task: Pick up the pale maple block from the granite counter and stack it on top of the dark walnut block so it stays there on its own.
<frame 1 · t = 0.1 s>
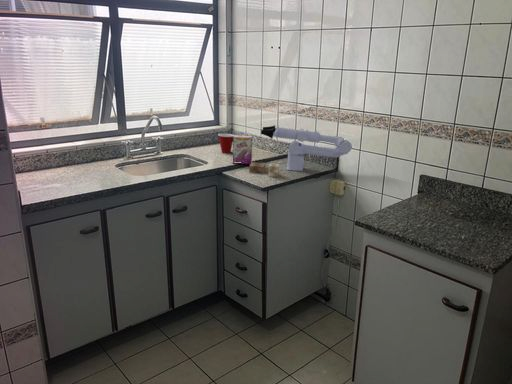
hand: (261, 130, 236), 22 cm above the countertop, tool horizontal, fingers open, 7 cm apart
plastic cup: (226, 152, 273), on the countertop
candy bar box: (242, 163, 250), on the countertop
walnut block: (257, 171, 236), on the countertop
maple block: (273, 175, 228), on the countertop
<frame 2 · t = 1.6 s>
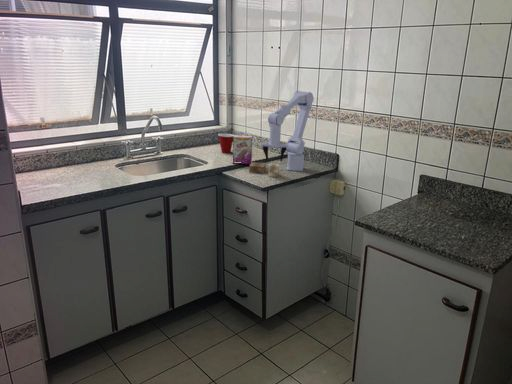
hand: (274, 160, 225), 8 cm above the countertop, tool pointing down, fingers open, 7 cm apart
nothing on the countertop moved.
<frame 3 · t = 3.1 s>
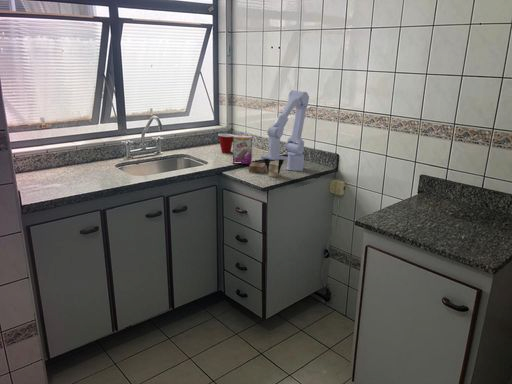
hand: (273, 172, 228), 2 cm above the countertop, tool pointing down, fingers closed on maple block, 5 cm apart
maple block: (273, 175, 228), on the countertop, touching gripper
everything else where it was.
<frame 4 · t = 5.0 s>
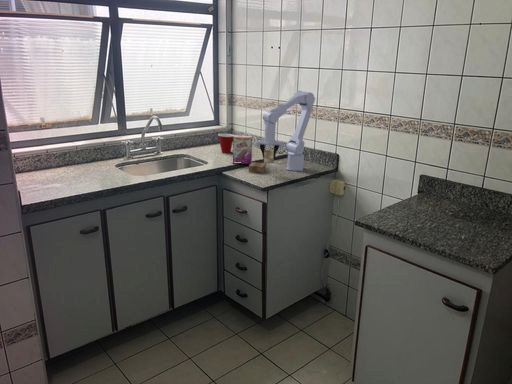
hand: (269, 158, 227), 9 cm above the countertop, tool pointing down, fingers closed on maple block, 5 cm apart
maple block: (268, 161, 228), point 7 cm above the countertop, touching gripper
everything else where it was.
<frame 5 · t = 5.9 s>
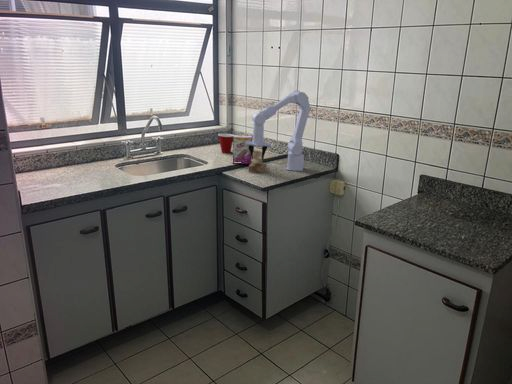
hand: (257, 159, 234), 7 cm above the countertop, tool pointing down, fingers closed on maple block, 5 cm apart
maple block: (257, 162, 234), point 5 cm above the countertop, touching gripper
everything else where it was.
when the fingers open (7 cm above the countertop, at t = 6.8 s): maple block drops 1 cm, point 4 cm above the countertop.
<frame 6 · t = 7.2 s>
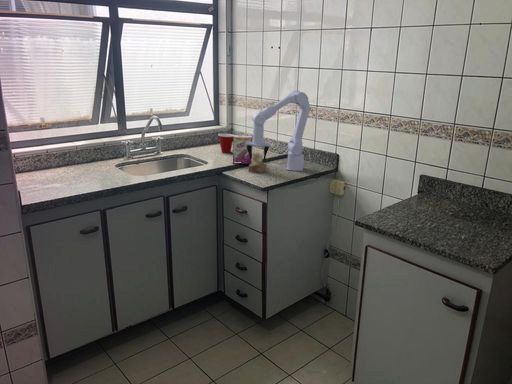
hand: (257, 159, 234), 7 cm above the countertop, tool pointing down, fingers open, 7 cm apart
maple block: (257, 164, 235), point 4 cm above the countertop
everything else where it was.
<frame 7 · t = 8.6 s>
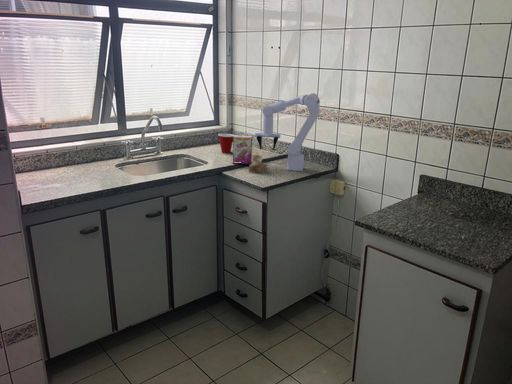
hand: (267, 149, 242), 10 cm above the countertop, tool pointing down, fingers open, 7 cm apart
nothing on the countertop moved.
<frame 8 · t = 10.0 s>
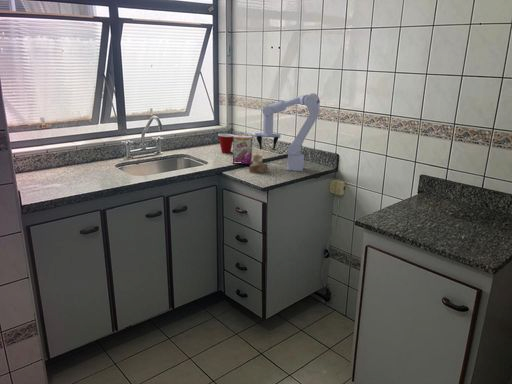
hand: (267, 149, 242), 10 cm above the countertop, tool pointing down, fingers open, 7 cm apart
walnut block: (258, 171, 236), on the countertop, touching maple block
maple block: (257, 164, 235), point 4 cm above the countertop, touching walnut block
everything else where it was.
at the end: maple block 0.6 cm off-centre on the walnut block, point 4.0 cm above the walnut block's base; maple block tilted 0°; the gripper is holding nothing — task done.
